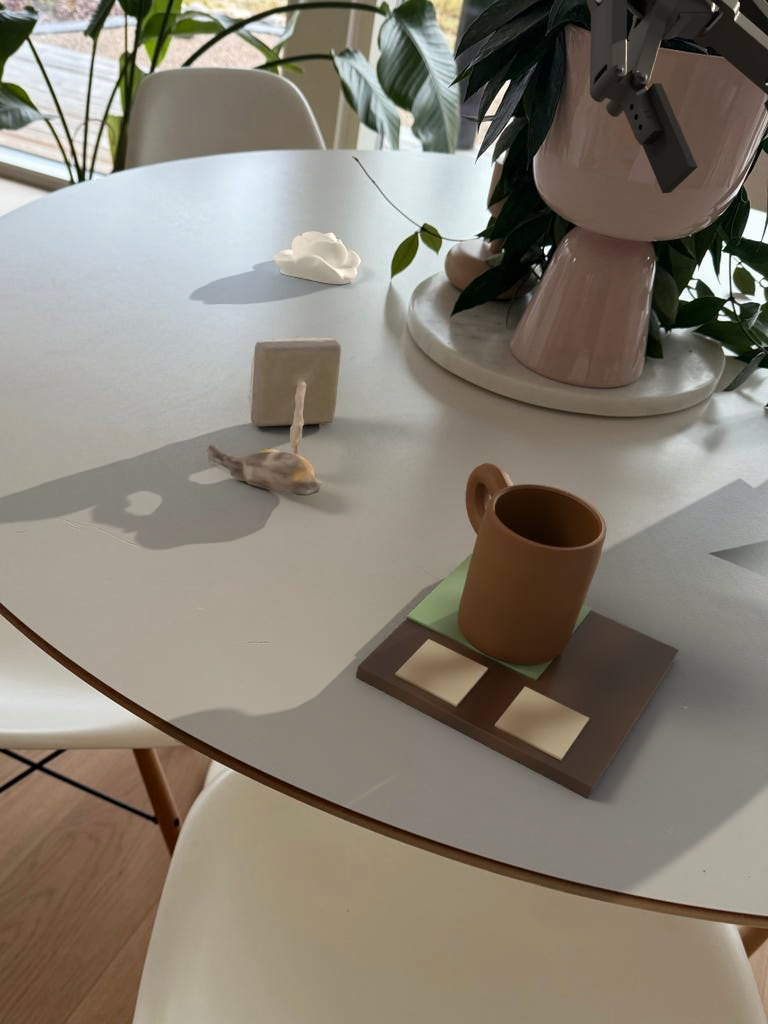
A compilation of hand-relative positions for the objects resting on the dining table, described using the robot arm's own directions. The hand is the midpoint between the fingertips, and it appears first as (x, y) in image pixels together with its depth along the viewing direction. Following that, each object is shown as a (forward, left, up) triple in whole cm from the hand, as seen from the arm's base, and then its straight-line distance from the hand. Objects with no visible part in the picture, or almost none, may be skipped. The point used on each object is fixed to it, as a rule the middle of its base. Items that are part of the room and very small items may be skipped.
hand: (750, 174), depth 73 cm
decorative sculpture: (+25, +19, -25) cm, 41 cm away
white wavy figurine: (+45, -18, -25) cm, 55 cm away
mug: (+1, +27, -24) cm, 36 cm away
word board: (-3, +30, -25) cm, 39 cm away
